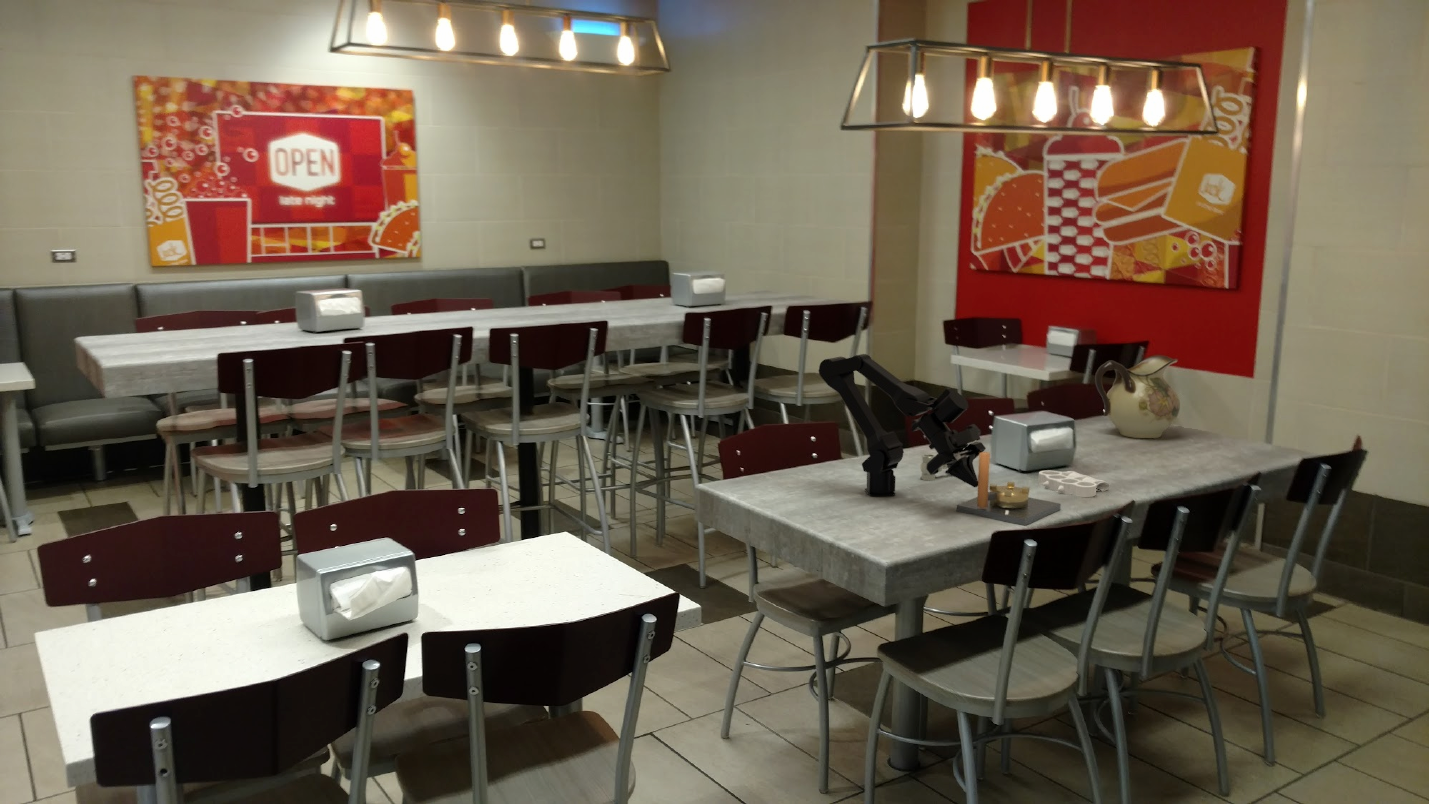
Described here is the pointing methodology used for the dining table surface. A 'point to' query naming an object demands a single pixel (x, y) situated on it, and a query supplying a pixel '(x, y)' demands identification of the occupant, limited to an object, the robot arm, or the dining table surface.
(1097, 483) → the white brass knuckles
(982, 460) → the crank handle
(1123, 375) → the pitcher
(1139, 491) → the dining table surface
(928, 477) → the valve
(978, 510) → the steel plate
